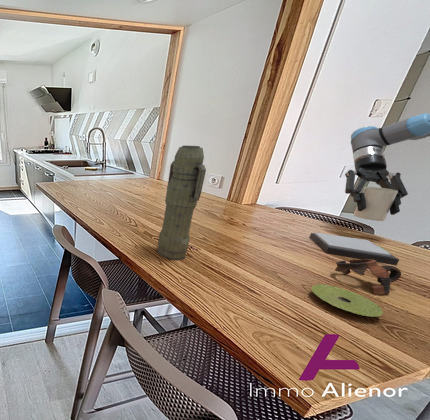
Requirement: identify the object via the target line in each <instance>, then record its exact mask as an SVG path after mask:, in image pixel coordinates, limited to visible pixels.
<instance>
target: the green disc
mask: <svg viewBox="0 0 430 420" xmlns="http://www.w3.org/2000/svg"><path fill="white" fill-rule="evenodd" d="M310 290H311V291H312V293H313V294H314V295H315V296H317V297H318V298H319V299H321V300H322V301H324V302H326V303H328V304H330V305H331V306H333V307H336V308H338V309H341V310H344V311H346V312H350V313H353V314H356V315H360V316H363V317H364V316H366V317H370V318H371V317H373V318H374V317H381V316H383V314H384V312H383V309H382V308H381V307H380V306H379V305H378V304H377V303H375V302H374V301H372V300H370V299H369V298H367V297H365V296H363V295H361V294H358V293H355V291H351V290H347V289H345V288H341V287H339V286H334V285H329V284H322V283H321V284H313V285H312V286H311V289H310Z"/></svg>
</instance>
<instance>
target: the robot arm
mask: <svg viewBox="0 0 430 420" xmlns="http://www.w3.org/2000/svg"><path fill="white" fill-rule="evenodd" d="M428 137H430V113H428V112H424V113H420V114H417V115H414V116H410V117H408V118H406V119H403V120H399V121H397V122H394V123H391V124H388V125H386V126H382V127H376V126H375V125H374V126H371V125H370V126H369V125H368V126H366V127H365V126H363V127H359V128H358V129H357V128H356V130H354V131H353V132H352V133H351V135H350V146H351V149H352V150H351V151H352V157H353V163H354V170H353V169H349V170H347V171H346V173H344V175H345V178H346V180H345V189H344V193H345V194H350V197H352V198H353V202H354V203H356V204H357V205H356V207H358V211H362V210H364V209H365V208H366V203H365V197H364V193H363V192H362V190H363V189H364V188H365V185H366V183H367V182H372V183H375V184H376V185H378V186H379V187H380V188H387V189H393V190H397V191H398V193H397V195H396V197H395V199H394V201H393V203H392V205H391V207H390V210H389V215H391V216H395V215H397V214H398V213H400V212H401V210H400V206H401V205H402V198H404V197H406V196H408V195H409V193H408V191H407V188H406V187H405V184H404V183H403V180H402V179H401V175H402V174H401V173H400V172H395V173H393V172H389V171H388V170H387V160H386V158H385V152H384V148H385V147H388V146H391V145H394V144H398V143H402V142H405V141H418V140H423V139H425V138H428ZM356 176H357V177H358V178H359V180H358V181H357V184H356V185H355V181H356V180H355V179H356Z"/></svg>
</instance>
